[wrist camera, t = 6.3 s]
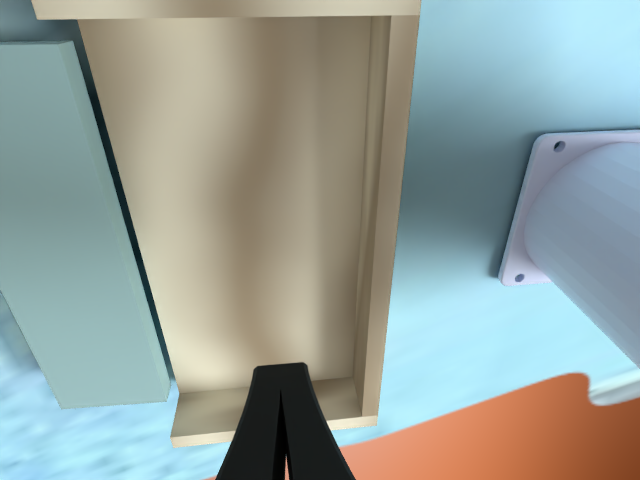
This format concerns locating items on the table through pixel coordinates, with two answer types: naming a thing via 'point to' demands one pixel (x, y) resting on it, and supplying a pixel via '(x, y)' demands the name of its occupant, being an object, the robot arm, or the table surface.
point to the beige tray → (259, 185)
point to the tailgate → (69, 238)
